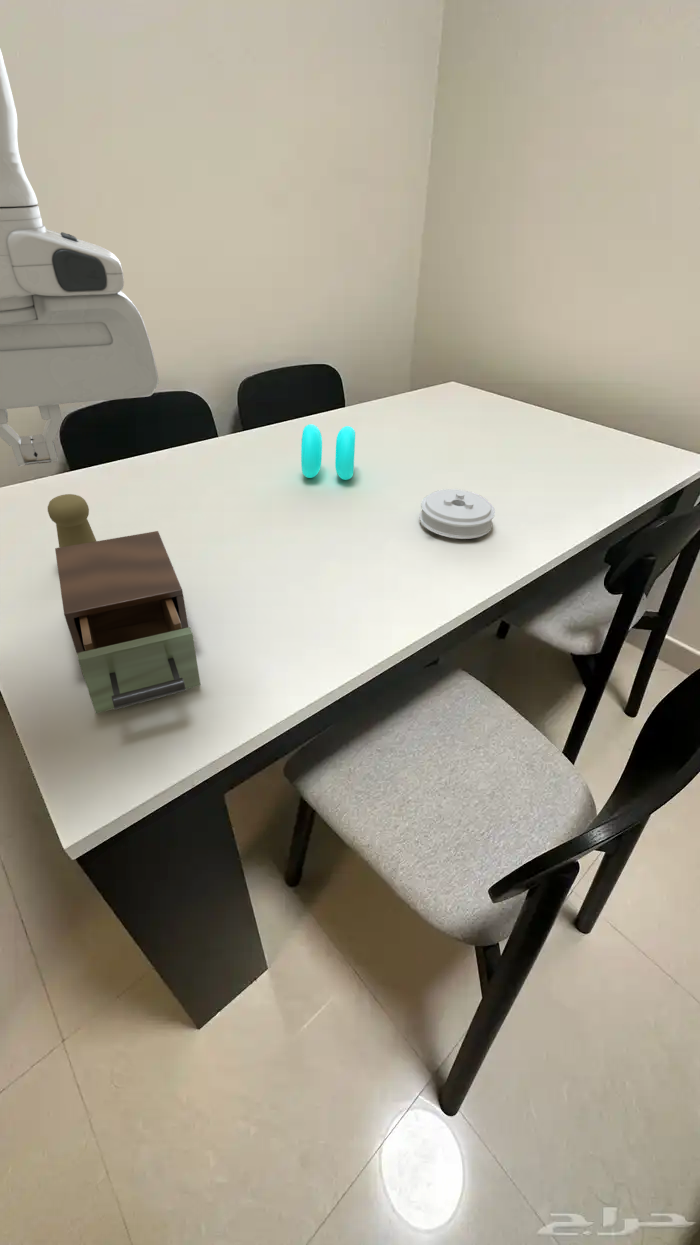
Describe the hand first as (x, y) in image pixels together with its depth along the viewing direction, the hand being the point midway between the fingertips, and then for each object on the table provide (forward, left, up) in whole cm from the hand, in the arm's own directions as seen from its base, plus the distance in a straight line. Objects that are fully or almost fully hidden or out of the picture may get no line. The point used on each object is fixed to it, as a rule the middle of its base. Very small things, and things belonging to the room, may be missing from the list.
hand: (38, 461), depth 46 cm
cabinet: (+4, +14, -29) cm, 33 cm away
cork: (0, +32, -29) cm, 43 cm away
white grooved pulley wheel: (+60, +23, -29) cm, 71 cm away
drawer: (+4, +4, -28) cm, 29 cm away
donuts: (+47, +49, -29) cm, 74 cm away
